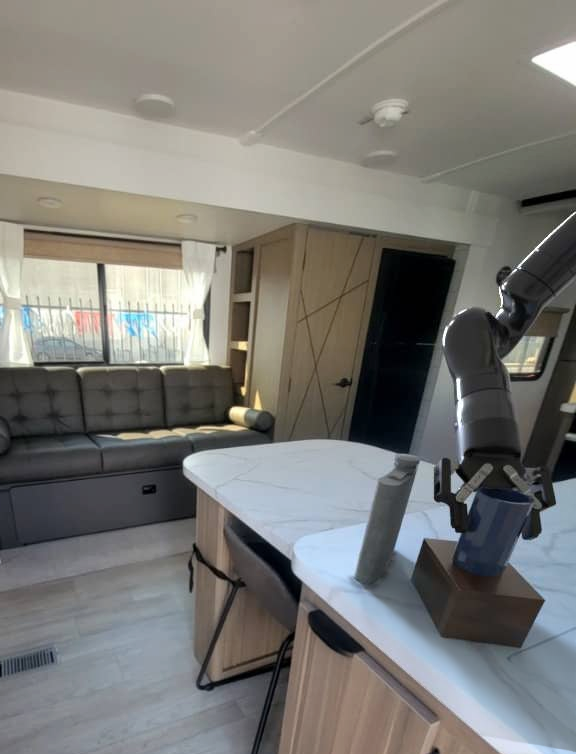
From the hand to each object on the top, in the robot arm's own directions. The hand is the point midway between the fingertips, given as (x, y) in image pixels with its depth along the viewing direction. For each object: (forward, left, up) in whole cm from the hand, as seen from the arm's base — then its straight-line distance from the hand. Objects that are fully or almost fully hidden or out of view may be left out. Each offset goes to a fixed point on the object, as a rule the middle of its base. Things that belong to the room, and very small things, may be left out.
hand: (496, 535), depth 54 cm
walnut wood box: (0, -1, -14) cm, 14 cm away
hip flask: (+10, -12, -14) cm, 21 cm away
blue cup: (0, -1, -6) cm, 6 cm away
